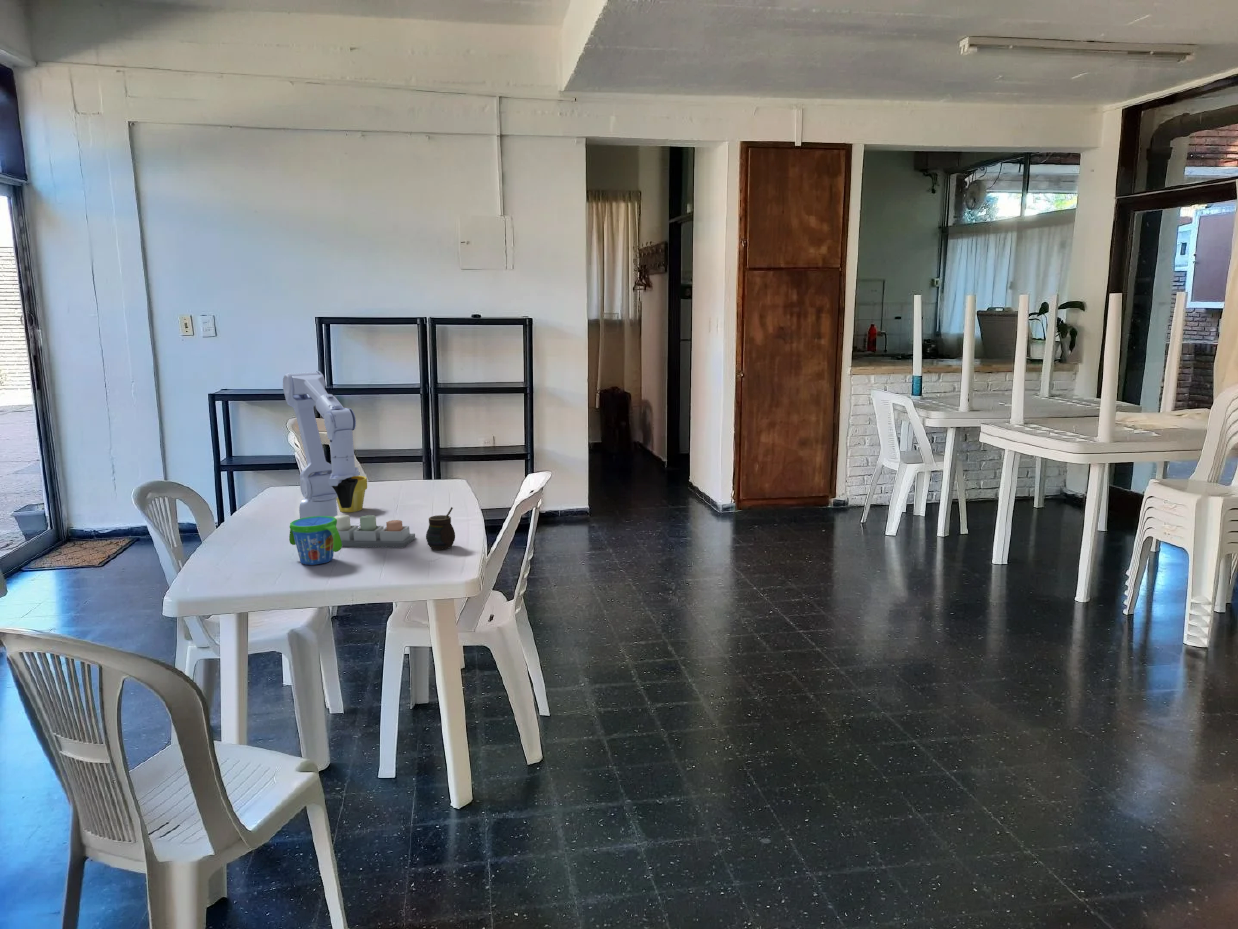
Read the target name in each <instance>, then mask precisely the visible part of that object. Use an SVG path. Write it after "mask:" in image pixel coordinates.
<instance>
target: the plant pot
mask: <svg viewBox="0 0 1238 929" xmlns="http://www.w3.org/2000/svg"><path fill="white" fill-rule="evenodd" d="M352 479H358V482H357V484H356V487H355V490H354V493H353V499H352V505H351V507H350V508H342V507H341V505H340V502H339V499H338V497H337V498H336V502H337V507H338V509H339V512H341V513H356V512H361V510H363V507H364V500H365V494H366V490H367V489H368V478H367V476H363V475H359V476H353V477H352Z"/></svg>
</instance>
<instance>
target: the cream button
mask: <svg viewBox="0 0 1238 929" xmlns="http://www.w3.org/2000/svg"><path fill="white" fill-rule="evenodd" d="M334 518H336V519H337V524H336V528H337V529H338V531H348V530H349V529H351V526H352V525H351V516H350V515H348V514H340V515H338V516H335V517H334Z"/></svg>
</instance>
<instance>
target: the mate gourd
mask: <svg viewBox="0 0 1238 929" xmlns="http://www.w3.org/2000/svg"><path fill="white" fill-rule="evenodd" d="M453 509H454V507H452V506H451V507H450V509H449V510H448V512H447V513H446V514H445V515H443V514H442V515H441V514H439V515H432V516H430V517H429V518H428V528H427V531H426V534H425V539H426V543H427V545H428V547H429V548H431V549H432V550H435V551H443V550H448V549H450V548H451V547H452V546H454V542H455V540H456V532H455V529H454V527H453V525H452V517H451V516H450V514H451V512H452V510H453Z"/></svg>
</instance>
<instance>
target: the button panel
mask: <svg viewBox="0 0 1238 929" xmlns="http://www.w3.org/2000/svg"><path fill="white" fill-rule="evenodd" d="M376 527H377V529H376V530H375V531H361V528H360V526H358V525H351V529H349V530H348V531H338V532H339V535H340V538H341V542H342V548H400V549H401V548H403V549H404V548H406V546H408V545H409V544H410V543H411V542H413V541H414V540H415V539H416V533H410V530H411V529H410V525H402V527H403V529H402V530H401V531H387V526H386V527H384V525H376Z"/></svg>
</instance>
